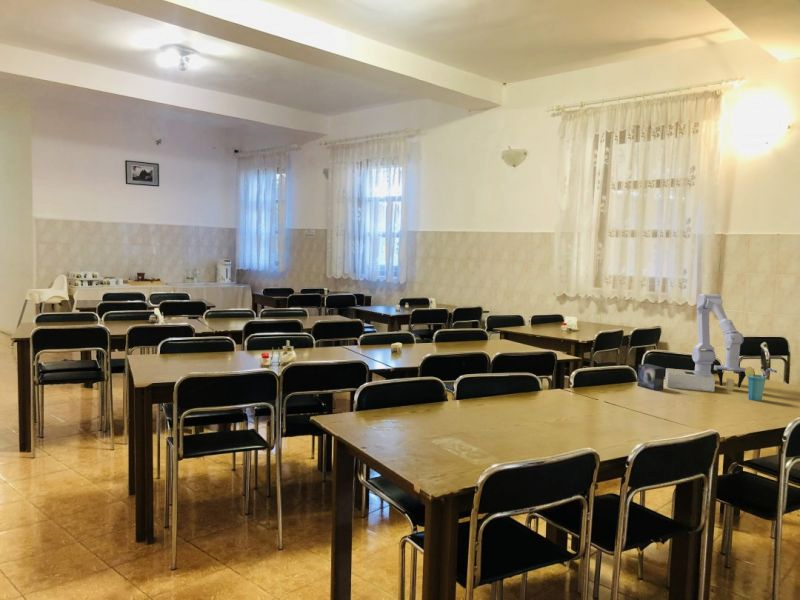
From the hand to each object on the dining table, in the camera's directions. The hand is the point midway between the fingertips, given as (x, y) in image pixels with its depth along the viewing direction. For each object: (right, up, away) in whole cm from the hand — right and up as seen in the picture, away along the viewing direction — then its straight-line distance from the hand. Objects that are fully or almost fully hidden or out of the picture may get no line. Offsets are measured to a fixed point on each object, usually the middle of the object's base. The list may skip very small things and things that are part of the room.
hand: (730, 386), depth 294 cm
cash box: (-18, -1, +4) cm, 18 cm away
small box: (-39, -1, -2) cm, 39 cm away
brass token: (0, -2, 0) cm, 2 cm away
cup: (+1, -4, -20) cm, 21 cm away
